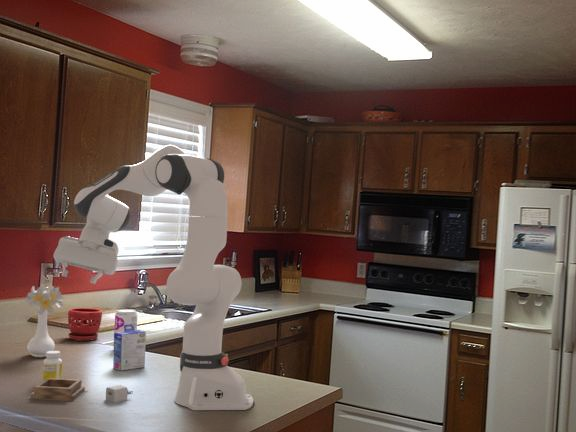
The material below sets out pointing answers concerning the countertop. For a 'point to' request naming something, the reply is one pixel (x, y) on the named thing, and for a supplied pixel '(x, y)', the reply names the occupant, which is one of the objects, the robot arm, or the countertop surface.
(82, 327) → the plant pot
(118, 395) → the usb wall charger
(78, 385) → the wooden tray
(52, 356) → the supplement bottle
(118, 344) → the ink cartridge box
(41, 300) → the flower vase
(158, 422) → the countertop surface
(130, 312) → the supplement can
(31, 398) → the mat
